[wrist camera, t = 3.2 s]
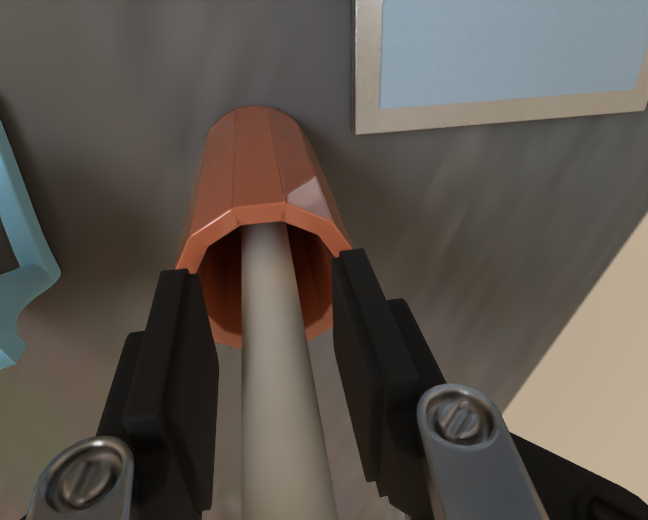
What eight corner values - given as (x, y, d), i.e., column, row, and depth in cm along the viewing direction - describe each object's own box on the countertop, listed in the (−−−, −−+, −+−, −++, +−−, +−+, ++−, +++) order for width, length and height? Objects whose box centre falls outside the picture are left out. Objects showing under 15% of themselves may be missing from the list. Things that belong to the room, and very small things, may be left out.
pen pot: (192, 109, 17) (155, 214, 10) (309, 101, 18) (357, 195, 10) (212, 214, 20) (195, 361, 12) (314, 204, 20) (356, 339, 13)
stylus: (239, 150, 18) (235, 553, 6) (273, 147, 18) (345, 533, 6) (243, 182, 19) (249, 600, 6) (276, 179, 19) (345, 580, 6)
